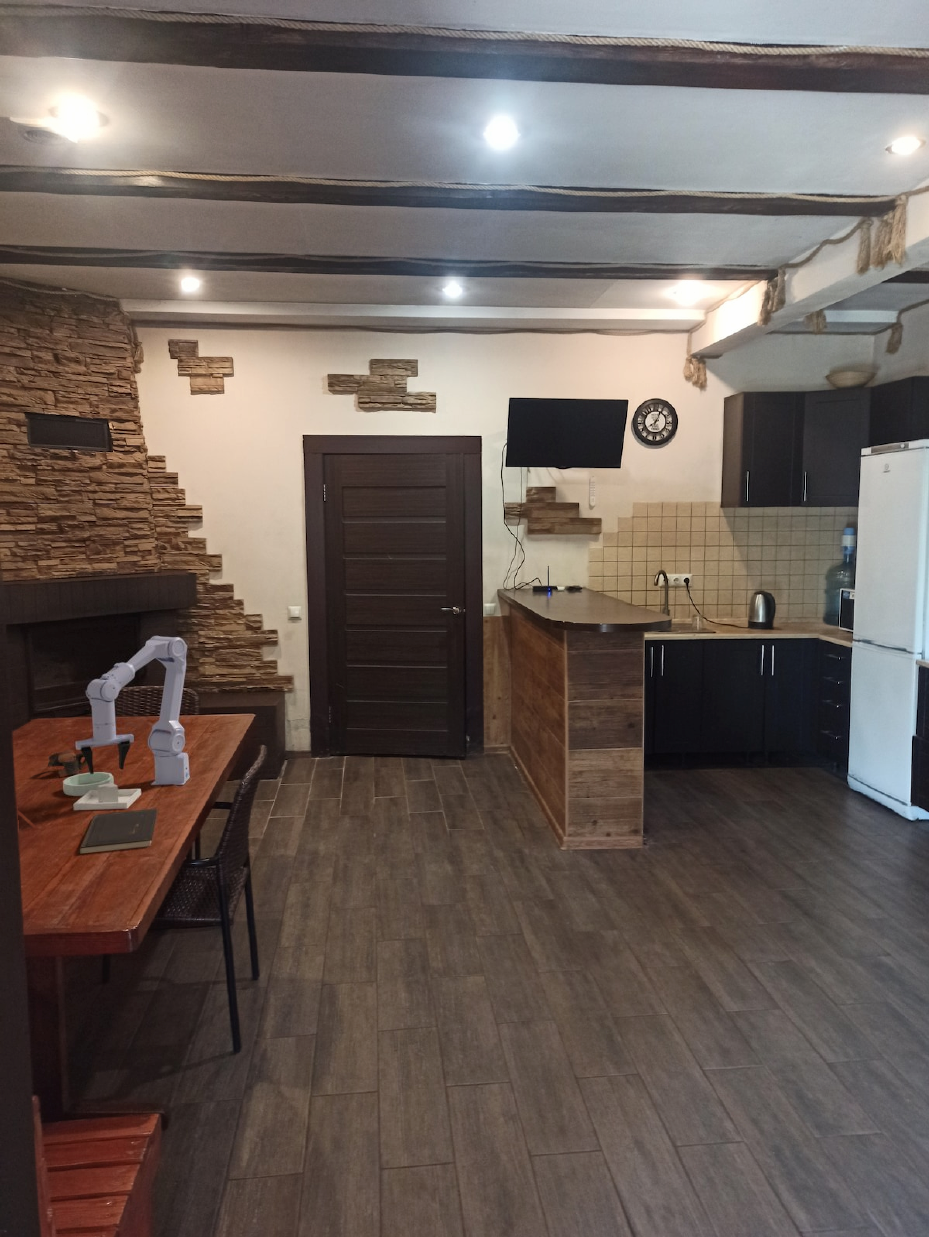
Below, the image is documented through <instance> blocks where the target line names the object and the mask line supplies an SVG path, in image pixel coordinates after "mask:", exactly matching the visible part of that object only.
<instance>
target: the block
mask: <svg viewBox="0 0 929 1237" xmlns="http://www.w3.org/2000/svg"><path fill="white" fill-rule="evenodd" d="M118 786H119V785H117V784H115V783H109V784H104V785H99V786H98V802H99V803H109V802H118V789H119V788H118Z"/></svg>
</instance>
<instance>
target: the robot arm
mask: <svg viewBox="0 0 929 1237" xmlns="http://www.w3.org/2000/svg"><path fill="white" fill-rule="evenodd" d="M144 645H145V646H143V647H142V648H141V649H139V651H137V652H136V654H134V655H133V656H132V657H131V658H130V659H129V660H128V661H127V662H117V663H115V664H114V665H113V667H112V668H111V669H110V670H109V671H107V673H104V674H102V675H101V677H100V678H95V679H93V680H91V681H90V682H89V684H88V685H87V688H86V690H85V695H86V697H87V698H88V699H89V704H90V706H91V717H92V718H91V719H92V733H93V734H92V735H93V736H92V738H88V739H83V740H79V741H78V740H76V741H75V749H76V750H78V751H79V750H80V753H82V754H83V756H84V757H83V758H84V759H85V760H86V762H87V764H86V765H87V767H88V773H90V774H94V772H95V771H94V763H93V762H94V761H93V758H94V757H93V756H94V752H93V750H92V748H97V747H103V746H110V745H117V749H118V768H119V769H120V770H121V771H122V770H124V766H125V761H126V758H127V755H128V753H129V750H130V748H131V743H134V741H135V740H134V738H135V737H134V735H133V734H132V733H129V734H117V728H116V727H117V725H116V710H115V700H116V699H117V698H118V696H119V693H120V691H121V690H122V688H124V687H125V686H126V685H128V684H129V683H130V682H131V681H132V680H133V679H134V678H135V674H136V672H137V671H138V670H140V669H142V668H143V667H144V666H146V665H147V664H148V663H150V662H151V661H152V660H154V659H156V660H157V661H159V662H160V663H161V664H162V665H163V666H164V667H165V668H166V671H165V677H164V678H165V679H164V685H163V691H162V699H161V706H160V712H159V720H158V721H157V722H155V723H154V724H153V725H152V726H151V730H150V734H149V735H148V738H147V746H148V748H149V749H150V750H151V751H152V752H151V753H152V754H154V758H153V759H154V774H155V775H154V776H155V780H153V781H152V783H151V784H150V785H152V786H155V785H157V786H158V785H159V786H160V785H174V786H182V785H183V786H184V785H185V783H186V782H188V780H189V779H190V777H191V776H190V763H189V762H190V761H189V759H190V758H189V755H188V753H187V752H182V751H183V750H184V748H185V746H186V745H185V744H186V739H185V731H186V730H185V728H184V727H183V726H182V724H181V723H180V722H179V719H180V712H181V706H182V700H183V699H182V697H183V690H184V686H185V685H184V684H185V676H186V670H187V659H186V658H187V650H188V645H187V643H186V642H185V640H184V639H183V638H181V637H178V636H177V637H176V636H174V637H172V636H171V637H170V636H159V635H153V636H151V638H150V639H148V640H146V642H145V644H144Z"/></svg>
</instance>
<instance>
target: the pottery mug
mask: <svg viewBox="0 0 929 1237" xmlns="http://www.w3.org/2000/svg"><path fill="white" fill-rule="evenodd" d="M82 758H84V759H83V761H82ZM48 760H49V761H48V763H47V767H48V768H49V767H63V768H62V769H59V770H58V774H59V776H60V777H59V778H64V777H66V776H71V775H73V776H74V775H78V774H80V771H81V770H83V767H86V766H87V765H88V764H87V762H86V760H85V757H84V756H83V754H82V752H80V753H75V751H74V750H73V749H67V750H62V751H59V752H56V753H54V754H51V755H50V756H49V757H48Z"/></svg>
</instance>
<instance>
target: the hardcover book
mask: <svg viewBox="0 0 929 1237" xmlns="http://www.w3.org/2000/svg"><path fill="white" fill-rule="evenodd" d="M158 812H159V808H147V809H139V810H128V811H118V812H108V813H97V814H94V815H93V816H92V818H91V820H90V821H91V822H90V823H89V825H88V828H87V830H86V832H85V834H84V837H83V839H82V842H81V844H80V847H79V850H78V854H79V855H81V854H88V853H89V854H90V853H98V852H107V851H117V850H126V849H134V848H135V849H136V848H146V847H151V846H152V841H153V835H154V832H155V829H156V828H155V826H156V823H157V817H158Z"/></svg>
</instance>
